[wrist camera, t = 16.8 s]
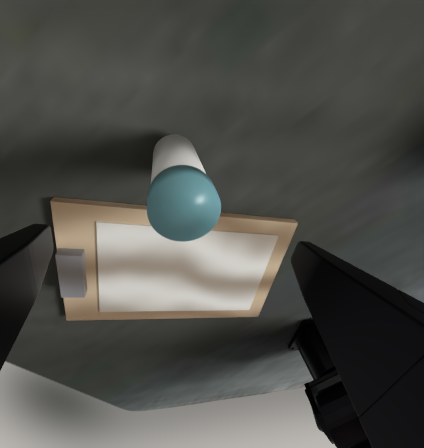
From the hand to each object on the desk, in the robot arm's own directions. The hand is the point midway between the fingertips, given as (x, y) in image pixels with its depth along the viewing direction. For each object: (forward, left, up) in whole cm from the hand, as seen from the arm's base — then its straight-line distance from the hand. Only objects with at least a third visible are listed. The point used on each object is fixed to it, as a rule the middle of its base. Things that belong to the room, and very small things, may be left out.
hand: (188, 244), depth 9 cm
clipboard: (-12, -2, -13) cm, 18 cm away
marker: (0, 0, -13) cm, 13 cm away
